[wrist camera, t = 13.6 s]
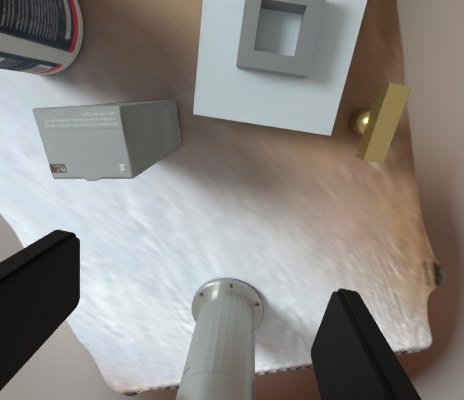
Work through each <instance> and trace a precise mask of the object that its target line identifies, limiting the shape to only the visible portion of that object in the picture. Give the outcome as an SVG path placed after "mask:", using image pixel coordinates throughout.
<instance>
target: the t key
mask: <svg viewBox="0 0 464 400" xmlns="http://www.w3.org/2000/svg"><path fill="white" fill-rule="evenodd" d="M410 89H411V86H406V85H400V84H394V83H386V84H380V85H379V87H378V90H377V93H376V96H375V99H374V102H373V105H372V108H371V110H357V111H355V112H354V113H353V114H352V115H351V116H350V118H349V121H348V126H349V128H350V130H351V131H352V132H354V133H358V134H362V135H363V136H362V139H361V142H360V145H359V148H358V151H357V154H356V157H358V158H360V159H362V160H365V161H371V162H376V163H382V164H383V163H384V160H385V158H386V155H387V152H388V149H389V147H390V144H391V141H392V138H393V136H394V133H395V130H396V128H397V125H398V122H399V119H400V117H401V114H402V111H403V108H404V106H405V103H406V100H407V97H408V95H409V92H410Z"/></svg>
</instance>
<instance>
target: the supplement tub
mask: <svg viewBox="0 0 464 400" xmlns="http://www.w3.org/2000/svg"><path fill="white" fill-rule="evenodd" d="M82 39H83V19H82V14H81V10H80V7H79V4H78V2H77V0H0V69H7V70H13V71H20V72H27V73H32V74H37V75H49V74H54V73H57V72H60V71H62V70H64V69H65V68H67V67H68V66H69V65H70V64H71V63H72V62H73V61H74V60H75V58H76V56H77V55H78V53H79V50H80V48H81V44H82Z"/></svg>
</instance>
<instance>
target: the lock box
mask: <svg viewBox="0 0 464 400" xmlns="http://www.w3.org/2000/svg"><path fill="white" fill-rule="evenodd" d="M366 3H367V0H203V7H202V18H201V29H200V41H199V52H198V63H197V74H196V86H195V97H194V108H193V114H194V115H201V116H207V117H214V118H220V119H226V120H233V121H239V122H246V123H252V124H258V125H265V126H271V127H278V128H284V129H290V130H297V131H303V132H310V133H316V134H323V135H329V136H331V133H332V129H333V126H334V122H335V118H336V115H337V111H338V107H339V103H340V100H341V96H342V92H343V89H344V85H345V81H346V77H347V74H348V70H349V66H350V63H351V59H352V55H353V51H354V48H355V44H356V40H357V37H358V33H359V29H360V26H361V22H362V18H363V14H364V11H365V7H366Z"/></svg>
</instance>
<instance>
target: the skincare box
mask: <svg viewBox="0 0 464 400" xmlns="http://www.w3.org/2000/svg"><path fill="white" fill-rule="evenodd" d="M33 113H34V116H35V120H36V123H37V126H38V129H39V133H40V136H41V139H42V142H43V146H44V149H45V152H46V156H47V159H48V162H49V166H50V169H51V173H52V176H53V178H54V179H85V180H88V181H97V180H99V179H132V178H134V177H136V176H137V175H139V174H140V173H142V172H143V171H145V170H146V169H148V168H149V167H151V166H152V165H154V164H155V163H157V162H158V161H160V160H161V159H163V158H164V157H165V156H167V155H168V154H170V153H171V152H173V151H174V150H176V149H177V148H179V147H180V146H182V143H181V134H180V126H179V117H178V108H177V101H176V100H148V101H134V102H122V103H111V104H98V105H84V106H66V107H50V108H36V109H33Z"/></svg>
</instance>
